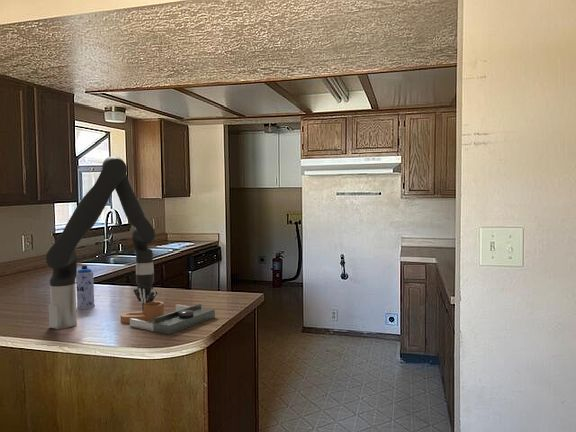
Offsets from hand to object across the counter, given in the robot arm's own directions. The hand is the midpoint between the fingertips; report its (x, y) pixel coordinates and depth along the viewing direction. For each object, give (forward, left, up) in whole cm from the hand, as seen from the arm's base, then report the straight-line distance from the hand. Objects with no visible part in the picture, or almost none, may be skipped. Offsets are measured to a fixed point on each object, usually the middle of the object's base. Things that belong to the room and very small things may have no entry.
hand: (145, 311), depth 191 cm
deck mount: (0, -17, -2) cm, 17 cm away
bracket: (-5, -3, -3) cm, 6 cm away
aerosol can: (-3, +39, -2) cm, 39 cm away
